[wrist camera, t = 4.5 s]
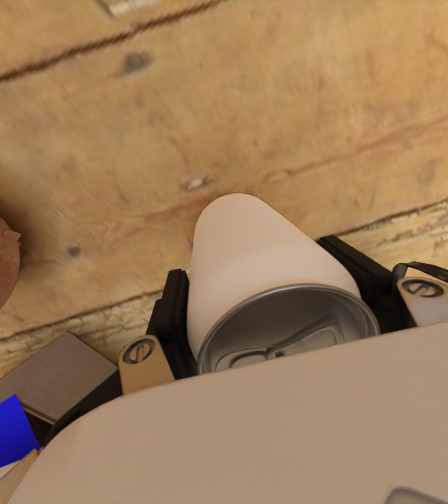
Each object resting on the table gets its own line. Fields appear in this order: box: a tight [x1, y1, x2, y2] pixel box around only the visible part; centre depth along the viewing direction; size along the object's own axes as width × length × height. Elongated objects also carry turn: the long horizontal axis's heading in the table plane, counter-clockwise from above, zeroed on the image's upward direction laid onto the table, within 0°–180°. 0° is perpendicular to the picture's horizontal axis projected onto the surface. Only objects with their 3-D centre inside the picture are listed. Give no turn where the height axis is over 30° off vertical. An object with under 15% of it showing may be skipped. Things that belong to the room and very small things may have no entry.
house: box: [0, 331, 119, 468], centre depth 19 cm, size 10×11×8 cm
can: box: [187, 193, 381, 375], centre depth 12 cm, size 6×6×12 cm
